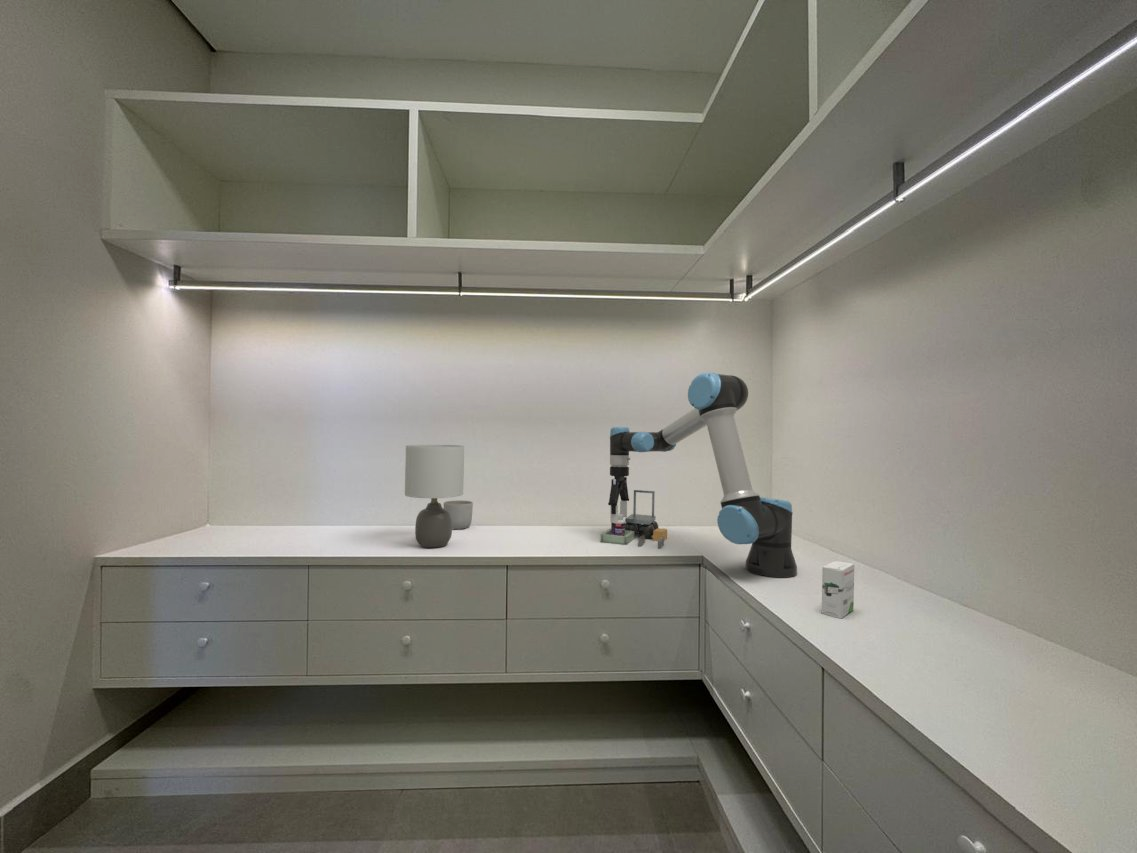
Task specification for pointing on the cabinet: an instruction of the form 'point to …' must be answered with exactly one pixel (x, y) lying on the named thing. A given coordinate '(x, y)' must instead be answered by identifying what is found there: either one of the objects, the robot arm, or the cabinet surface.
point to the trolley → (642, 519)
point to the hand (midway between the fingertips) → (618, 519)
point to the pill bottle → (618, 526)
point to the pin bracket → (642, 540)
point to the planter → (459, 513)
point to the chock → (659, 534)
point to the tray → (617, 537)
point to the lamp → (434, 488)
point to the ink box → (837, 589)
